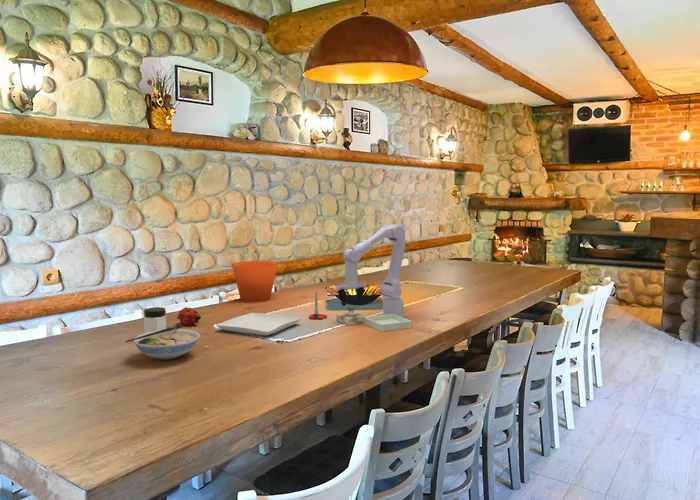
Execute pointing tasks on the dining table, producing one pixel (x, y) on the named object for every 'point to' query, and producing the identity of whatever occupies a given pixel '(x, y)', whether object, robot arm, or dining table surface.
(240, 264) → the flowerpot
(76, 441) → the dining table surface
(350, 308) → the steel pin
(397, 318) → the tray
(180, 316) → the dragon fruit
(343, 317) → the pin block
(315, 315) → the tow hook
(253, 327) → the square plate
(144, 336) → the ramen bowl
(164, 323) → the jar
